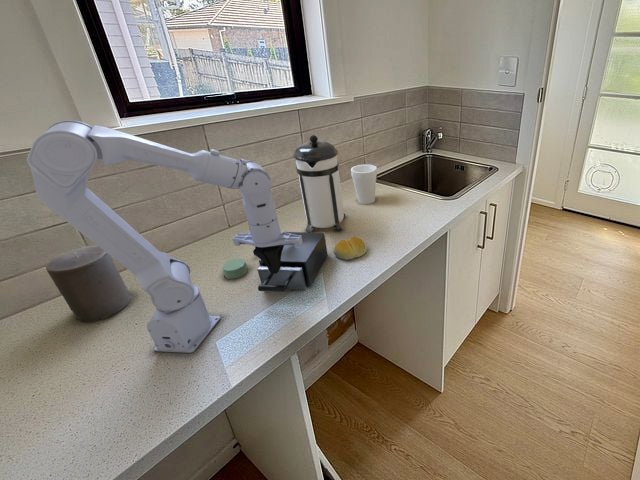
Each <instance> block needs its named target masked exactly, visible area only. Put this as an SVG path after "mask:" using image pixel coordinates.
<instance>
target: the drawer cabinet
mask: <svg viewBox="0 0 640 480" xmlns="http://www.w3.org/2000/svg"><path fill="white" fill-rule="evenodd" d="M285 232H286V233H290V234H294V235H301V236H302V241H303V243H302V245H301V246H300V247H295V246H290V245H284V248H283V251H282V255H281V262H280V264H303V266H304V271H305V276H306V282H305V284H306V288H311V287H312V285H313V283H314V281H316V278H317V277H318V274H319V272H320V271H321V269H322V267H323V265H324V263H325V262H326V260H327V258H328V257H329V255H328V249H327V242H326V236H325V232H311V233H309V232H306V231H305V232H304V231H302V232H301V231H285ZM258 264H259V266H266V265H265V264H264V262H263V261H262V260H261V259H260V258H258Z"/></svg>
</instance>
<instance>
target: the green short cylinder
mask: <svg viewBox="0 0 640 480" xmlns="http://www.w3.org/2000/svg"><path fill="white" fill-rule="evenodd" d="M221 268H222V271H223V275H224V277H225V278H226V279H228V280H229V279H230V280H231V279H239V278H240V277H242V276H244V275H246V273H247V272H248V266H247V262H246V260H245V258H238V257H237V258H232V259H229V260H228V261H226V262H224V263H223V264H222V267H221Z"/></svg>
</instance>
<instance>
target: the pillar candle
mask: <svg viewBox="0 0 640 480" xmlns="http://www.w3.org/2000/svg"><path fill="white" fill-rule="evenodd" d="M45 270H46V271H47V273H48V275H49V277H50V279H51V280H52V282H53V284H54V285H55V286H56V288H57V290H58V291H59V293H60V294H61V296H62V298H63V299H64V301H65V302H66V304H67V305H68V308H70V311H72V313H73V315H74V317H75V318H76V320H77V322H80V323H90V322H95V321H96V322H97V321H100V320H103V319H106V318H109V317H111V316H113V315H115V314H116V313H118V312H120V311H121V310H123V309H124V308H125V307H127V305H128V304H129V303H131V300H132V295H131V294H130V292H129V290H128V287H127V285H126V284H125V282H124V279H123V277H122V276H121V274H120V272H119V270H118V268H117V266H116V263H114V260H113V257H112V256H110V255H109V254H108V253H106V252H105V251H104V250H103V249H101V248H100V247H99V246H97V245H91V246H90V245H89V246H88V245H87V246H83V247H79V248H76V249H75V248H74V249H72V250H69V251H67V252H64V253H62V254H60V255H57V256H55V257H54V258H52V259H51V260H49V261H48V262H47V264H46V265H45Z"/></svg>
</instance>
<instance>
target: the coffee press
mask: <svg viewBox="0 0 640 480" xmlns="http://www.w3.org/2000/svg"><path fill="white" fill-rule="evenodd" d="M338 154H339V151H338V150H337V148H336V147H335V145H334V144H332V143H330V142H328V141H321V140H320V141H319V138H318V137H317V135H314V134H313V135H310V137H309V141H308V142H304V143H301V144H299V145H298V146H296V148H295V149H294V153H293V154H292V155H293V159H294V160H295V164H296V165H295V168H296V174H297V176H298V180H299V182H298V183H299V187H300V192H301V197H302V198H301V199H302V203H303V209H304V214H305V218H306V219H305V221H306V223H307V225H306V227H305V232H309V233H313V230H314V229H315V228H316V229H327V228H331V227H333V228H334V229H335V231H336V232H340V231H342V230H343V227H342V226H341V222H343V220H344V218H345V217H346V213H345V211H344V205H343V195H342V188H341V187H342V186H341V178H340V171H339V169H340V164H339V161H338Z"/></svg>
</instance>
